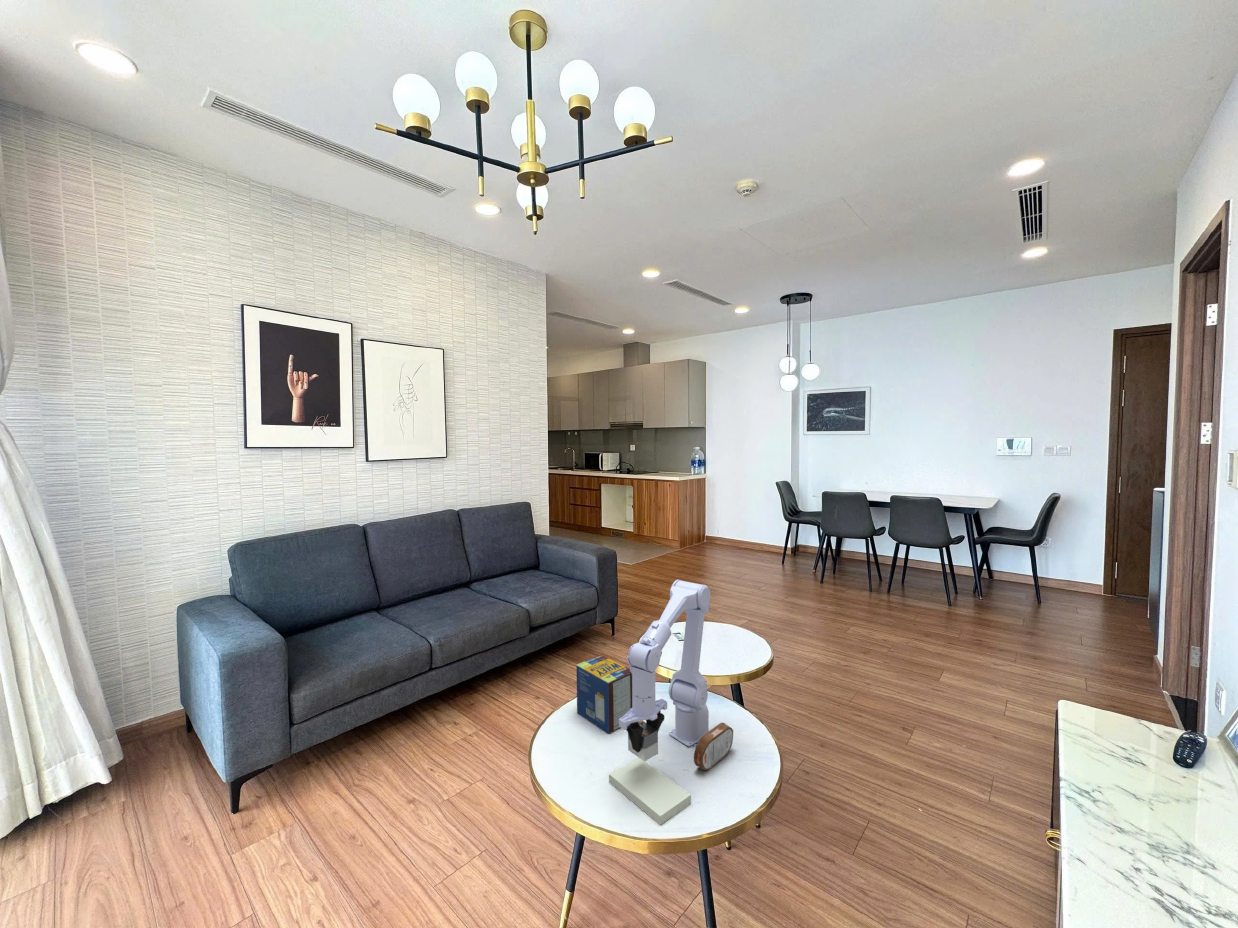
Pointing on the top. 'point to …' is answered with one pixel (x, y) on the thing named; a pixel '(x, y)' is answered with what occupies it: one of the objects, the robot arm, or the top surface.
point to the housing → (646, 742)
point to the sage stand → (650, 790)
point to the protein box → (603, 692)
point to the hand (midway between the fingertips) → (643, 745)
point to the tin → (713, 746)
